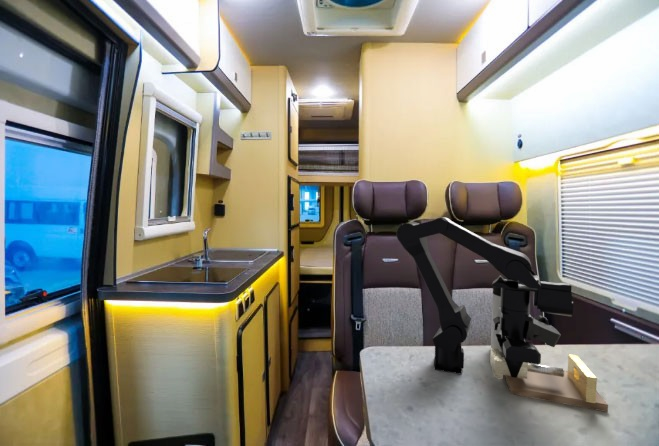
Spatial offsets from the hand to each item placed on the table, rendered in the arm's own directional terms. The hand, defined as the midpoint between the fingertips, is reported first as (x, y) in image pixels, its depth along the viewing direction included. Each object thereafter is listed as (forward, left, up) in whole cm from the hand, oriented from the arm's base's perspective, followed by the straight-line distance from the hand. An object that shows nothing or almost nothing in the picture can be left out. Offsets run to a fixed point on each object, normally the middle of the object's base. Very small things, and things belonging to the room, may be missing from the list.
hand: (512, 373), depth 71 cm
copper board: (+8, +2, -2) cm, 8 cm away
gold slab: (+13, 0, -1) cm, 13 cm away
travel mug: (+1, +16, -3) cm, 16 cm away
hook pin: (+3, 0, 0) cm, 3 cm away
